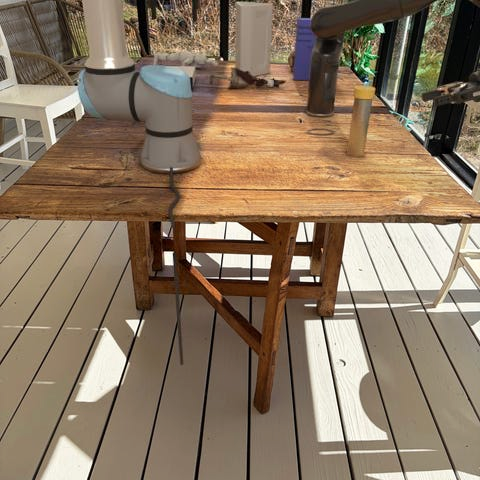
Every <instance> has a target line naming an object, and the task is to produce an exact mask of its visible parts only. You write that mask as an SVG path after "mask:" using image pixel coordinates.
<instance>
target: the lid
mask: <svg viewBox="0 0 480 480" xmlns="http://www.w3.org/2000/svg"><path fill="white" fill-rule="evenodd" d="M353 89H354V90H353V97H355V98H358V99H373V100H374V99H375V94H376V87H374V86H370V85H356V86H354V88H353Z"/></svg>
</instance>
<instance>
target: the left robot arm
mask: <svg viewBox="0 0 480 480" xmlns="http://www.w3.org/2000/svg"><path fill="white" fill-rule="evenodd" d="M146 2H147V8H148V9H150V17H151V18H150V19H151V21H156V20H157V17H158V16H157V3H156V0H146ZM81 3H82V10H83V16H84V23H85V31H86V38H87V45H88V52H89V57H88V58H87V59H86V61H84V69H82V70H80V73H79V75H78V78H77V80H78V83H77V94H78V97H79V98H78V99H79V100H80V103H81V106H82V107H83V109H84V110H85V112H86V113H88V114H89V115H90V116H91V117H93V118H96V119H102V120H106V121H127V122H138V123H139V122H141V123H144V125H145V138H144V142H143V146H142V150H141V154H140V162H141V166H142V168H144V169H145V170H146V171H149V172H151V173H156V174H163V175H164V174H165V175H169V186H170V188H171V190H172V191H173V192H174V193H175V196H176V197H175V198H174V200H173V201H172V202H171V203H170V205H169V206H168V213H167V214H168V216H169V220H170V228H171V229H175V228H176V225H175V217H174V214H173V208H174V207H175V205H176V204H177V203H178V202H179V200H180V192H179V191H178V189H177V188H176V187H175V185H174V175H175V174H182V173H187V172H190V171H193V170H195V169H197V168H198V167H199V166H201V163H202V155H201V151H202V145H201V144H200V143H199V142H197V141H196V137H195V135H194V130H193V129H194V126H193V99H192V98H193V97H192V96H193V90H191V83H190V78H189V76H188V74H187V73H185V72H184V71H182V70H180V69H177V68H174V67H169V66H170V65H161V64H159V65H158V66H156V65H154V64H148V65H144V66H142V67H141V68H140V70H139V71H136V63H135V61H134V60H133V59H132V58H131V57H130V55H128V49H127V37H126V28H125V18H124V8H123V0H81ZM200 8H201V1H200V0H191V14H192V15H191V16H192V22H193V23H194V22H197V21H198V10H200ZM172 265H173V266H172V268H173V279H174V295H175V309H176V311H175V312H176V322H177V323H176V324H177V339H178V351H179V365H180V366H183V365H184V352H183V339H182V338H183V336H182V321H181V305H180V292H179V291H180V290H179V277H178V261H177V252H172Z"/></svg>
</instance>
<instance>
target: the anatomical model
mask: <svg viewBox="0 0 480 480" xmlns="http://www.w3.org/2000/svg"><path fill="white" fill-rule="evenodd" d="M294 58H295V49H293V51H292V52H291V53H290V54H289V56H288V58H287V63H288V64H289V65H288V66H289V69H291V72H294Z"/></svg>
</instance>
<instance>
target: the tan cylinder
mask: <svg viewBox="0 0 480 480" xmlns="http://www.w3.org/2000/svg"><path fill="white" fill-rule="evenodd" d="M353 97H354V96H353ZM373 101H374V98H373V99H358V98H355V97H354V98H353V106H352V113H351V119H350V126H349V134H348V141H347V150H346V154H347V155H348V156H350V157H354V158H359V157H363V156H365V149H366V144H367V136H368V131H369V124H370V119H371V118H370V117H371V112H372V105H373Z"/></svg>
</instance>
